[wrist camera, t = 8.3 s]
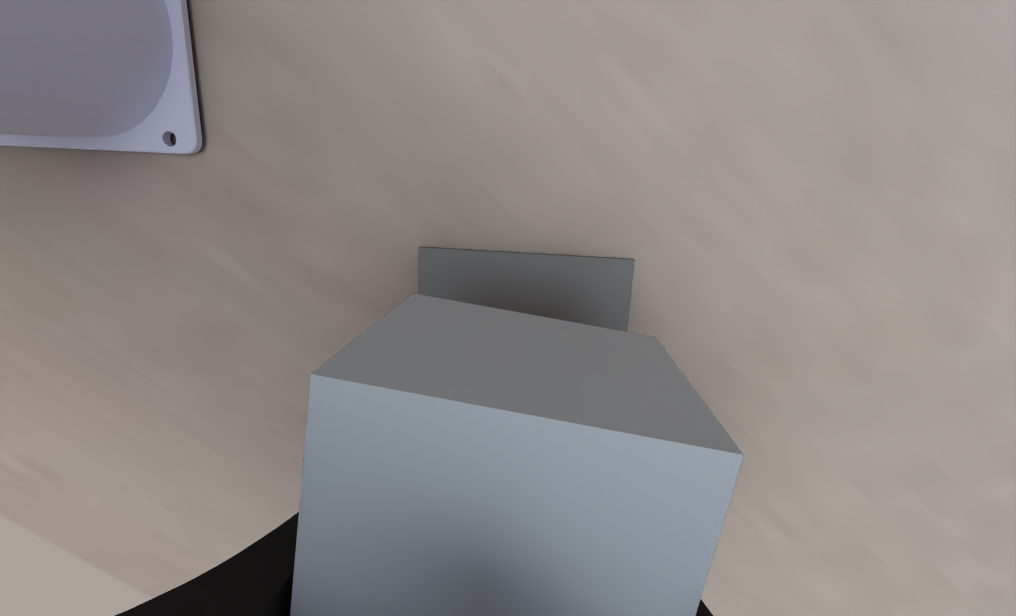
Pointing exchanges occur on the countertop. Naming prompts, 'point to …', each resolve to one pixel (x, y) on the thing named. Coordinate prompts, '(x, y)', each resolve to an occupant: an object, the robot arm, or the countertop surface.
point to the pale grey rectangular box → (506, 471)
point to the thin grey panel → (532, 283)
